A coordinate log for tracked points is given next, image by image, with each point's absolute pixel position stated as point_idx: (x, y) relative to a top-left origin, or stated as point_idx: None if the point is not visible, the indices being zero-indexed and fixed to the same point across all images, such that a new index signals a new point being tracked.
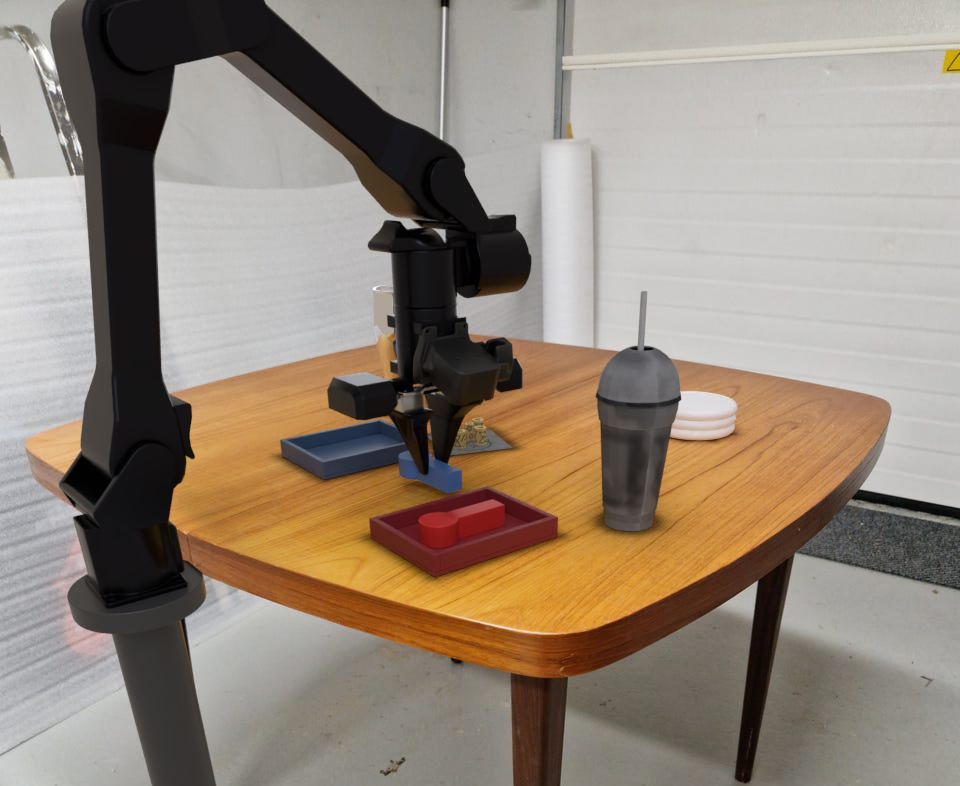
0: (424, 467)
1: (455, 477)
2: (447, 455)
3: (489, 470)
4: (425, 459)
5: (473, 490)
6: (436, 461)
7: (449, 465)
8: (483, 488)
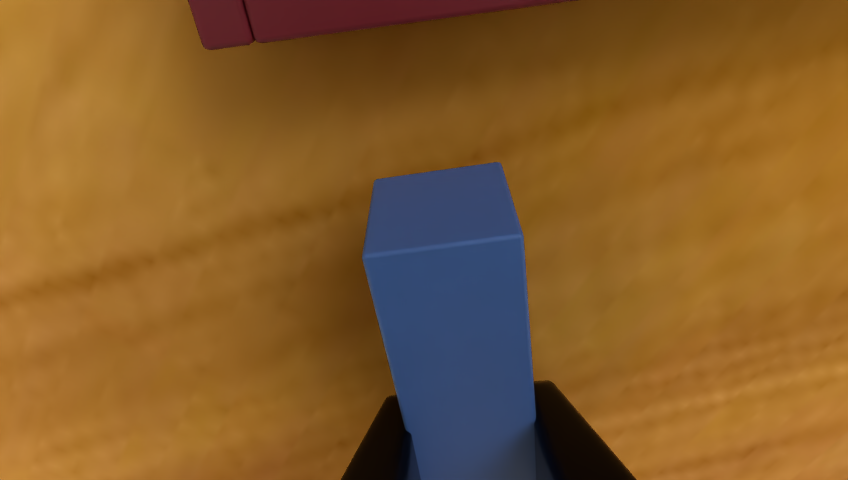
0: (571, 414)
1: (431, 219)
2: (375, 469)
3: (80, 429)
4: (583, 460)
5: (361, 14)
6: (444, 458)
7: (402, 372)
8: (263, 9)
